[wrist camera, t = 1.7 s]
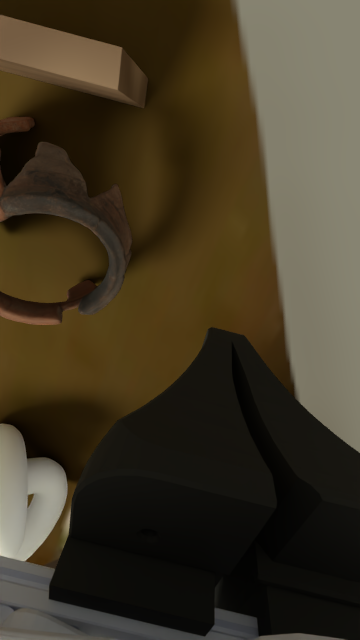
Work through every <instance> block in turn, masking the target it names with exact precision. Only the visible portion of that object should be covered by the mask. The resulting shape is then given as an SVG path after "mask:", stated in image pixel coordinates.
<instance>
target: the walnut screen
mask: <svg viewBox="0 0 360 640" xmlns="http://www.w3.org/2000/svg"><path fill="white" fill-rule="evenodd" d="M0 70H1V71H5V72H9V73H12V74H16V75H20V76H24V77H27V78H31V79H35V80H39V81H42V82H46V83H50V84H54V85H57V86H61V87H65V88H69V89H73V90H76V91H80V92H84V93H88V94H91V95H95V96H99V97H103V98H106V99H110V100H114V101H118V102H121V103H125V104H129V105H133V106H137V107H140V108H144V106H145V99H146V92H147V85H148V78H147V76H146V75H145V74H144V73H143V72H142V70H141V69H140V68H139V67H138V66H137V65H136V63H135V62H134V61H133V60H132V59H131V57H130V56H129V55H128V54H127V53H126V52H125V50H124V49H123V48H122V47H118V46H115V45H111V44H107V43H103V42H100V41H96V40H92V39H89V38H85V37H81V36H77V35H74V34H70V33H66V32H62V31H59V30H55V29H51V28H48V27H44V26H40V25H36V24H33V23H29V22H25V21H21V20H18V19H14V18H10V17H7V16H3V15H0Z"/></svg>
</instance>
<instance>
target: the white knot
mask: <svg viewBox="0 0 360 640" xmlns="http://www.w3.org/2000/svg"><path fill="white" fill-rule="evenodd" d="M67 487H68V485H67V479H66V473H65V471H64V469H63V467H62V466H61V465H59V464H58V463H57V462H55V461H54V460H52V459H50V458H46V457H38V458H28V459H27V456H26V448H25V443H24V439H23V436H22V434H21V433H20V432H19V431H18V430H17V429H16V428H15V427H14V426H12V425H9V424H3V423H2V424H0V556H4V557H8V558H12V559H16V560H20V561H25V560H27V559H28V558H29V557H30V556H31V555H32V554H33V553H34V552H35V551H36V550H37V548H38V547H39V546H40V545H41V544H42V543H43V542H44V540H45V539H46V538H47V536H48V535H49V533H50V532H51V531H52V529H53V527H54V526H55V524H56V522H57V520H58V519H59V517H60V514H61V512H62V510H63V507H64V505H65V501H66V497H67ZM33 493H34V497H33V500H32V502H31V504H30V506H29V507H28V509H27V499H28V495H29V494H33Z"/></svg>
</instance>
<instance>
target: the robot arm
mask: <svg viewBox="0 0 360 640" xmlns="http://www.w3.org/2000/svg"><path fill="white" fill-rule="evenodd" d="M0 640H360V453H359V452H358V451H356V450H355V449H353V448H352V447H351V446H349V445H348V444H347V443H345V442H344V441H343V440H341V439H340V438H339V437H338V436H336V435H335V434H334V433H333V432H331V431H330V430H329V429H328V428H327V427H326V426H324V425H323V424H322V423H321V422H320V421H318V420H317V419H316V418H315V417H314V416H313V415H312V414H310V413H309V412H308V411H307V410H306V409H305V408H304V407H303V406H302V405H301V404H300V403H299V402H298V401H297V400H296V399H295V398H294V397H293V396H292V395H291V394H290V393H289V392H288V390H287V389H286V388H285V387H284V386H283V385H282V384H281V382H280V381H279V380H278V379H277V378H276V377H275V375H274V374H273V373H272V372H271V370H270V369H269V368H268V367H267V365H266V364H265V363H264V361H263V360H262V359H261V357H260V356H259V355H258V353H257V352H256V351H255V349H254V348H253V346H252V345H251V344H250V342H249V341H248V340H247V338H246V337H245V336H244V335H240V334H237V333H233V332H229V331H225V330H221V329H217V328H213V327H211V328H209V329H208V331H207V334H206V337H205V340H204V343H203V346H202V349H201V351H200V352H199V354H198V355H197V357H196V358H195V360H194V361H193V362H192V364H191V365H190V366H189V367H188V369H187V370H186V371H185V372H184V373H183V374H182V375H181V376H180V377H179V378H178V379H177V380H176V381H175V382H174V383H173V384H172V385H171V386H170V387H168V388H167V389H166V390H165V391H164V392H162V393H161V394H160V395H158V396H157V397H156V398H154V399H153V400H151V401H150V402H148V403H147V404H146V405H144V406H142V407H141V408H139V409H137V410H136V411H134V412H132V413H130V414H128V415H127V416H125V417H123V418H121V419H119V420H117V422H116V423H115V424H114V425H113V426H112V428H111V429H110V430H109V431H108V433H107V434H106V435H105V437H104V438H103V439H102V441H101V442H100V443H99V445H98V446H97V447H96V449H95V450H94V452H93V454H92V455H91V457H90V459H89V460H88V462H87V464H86V466H85V467H84V470H83V472H82V474H81V477H80V479H79V481H78V484H77V486H76V489H75V492H74V495H73V498H72V504H71V516H70V528H69V536H68V538H67V541H66V543H65V546H64V548H63V551H62V553H61V556H60V558H59V561H58V564H57V566H56V569H53V568H49V567H45V566H41V565H37V564H33V563H28V562H24V561H20V560H16V559H12V558H8V557H4V556H0Z"/></svg>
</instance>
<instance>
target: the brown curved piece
mask: <svg viewBox="0 0 360 640" xmlns="http://www.w3.org/2000/svg"><path fill="white" fill-rule="evenodd" d="M34 125H35V122H34V119H33V118H31V117H9V118H6V119H3V120H0V136H2V135H4V134H6V133H13V132H24V131H29V130H30V128H32V127H34ZM0 159H1V150H0ZM31 213H44V214H51V215H56V216H60V217H64V218H68V219H71V220H73V221H75V222H78V223H80V224H81V225H83V226H85V227H88V228H89V229H90V230H91V231H92V232H93V233H94V234H95V235H96V236H97V237H98V238H99V239H100V241H101V242H102V243H103V244H104V246H105V248H106V249H107V252H108V255H109V268H108V271H107V274H106V276H105V278H104V280H103V281H102V283H101V284H100V285H99V286H96V285H95V284H94V283H92V282H91V281H90V280H86V281H83V282H81V283H79V284H77V285H75V286H74V287H72V288H71V289H69V290H68V292H67V297H68V300H67V301H66V302H58V303H38V302H31V301H25V300H21V299H18V298H14V297H12V296H9V295H6V294H4V293H2V292H0V316H2V317H4V318H7V319H10V320H13V321H16V322H24V323H27V324H36V325H54V324H59V323H61V322H62V312H63V311H65V310H70V309H74V308H77V307H79V308H78V311H79V313H81V314H89V315H91V314H95V313H97V312H98V311H100V310H101V309H103V308H104V307H105V306H106V305H107V304H108V303H109V302H110V301H111V300H112V299H113V298H114V297H115V296H116V295H117V293H118V292H119V290H120V289H121V286H122V284H123V281H124V273H125V272H126V268H127V266H128V263H129V260H130V257H131V250H130V247H131V244H132V235H131V230H130V228H129V224H128V222H127V219H126V215H125V211H124V207H123V202H122V196H121V193H120V189H119V186H118V185H117V184H114V185H112V187H111V189H110V190H108V191H106V192H103V193H101V194H99V195H97V196H95V197H92V198H89V197H88V194H87V186H86V182H85V180H84V179H83V176H82V174H81V173H80V171H79V170H78V169H77V168H76V167H75V166H74V165H73V164H72V163H71V162H70V159H69V156H68V154H67V152H66V151H65V150H64V149H63V148H61V147H58V146H56V145H53V144H51V143H48V142H40V143H39V144H38V147H37V151H36V154H35V157H33V158H32V159H30V160H29V161H28V162H27V163H26V164H25V166H24V168H23V169H22V171H21V172H20V173H19V174H18V175H17V176H16V177H15V178H14V180H13V181H12V182H10V183H9V185H8V186H6V184H5V181H4V179H3V176H2V173H1V167H0V222H2V221H4V220H6V219H8V218H9V217H11V216H12V215H22V214H31Z"/></svg>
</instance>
